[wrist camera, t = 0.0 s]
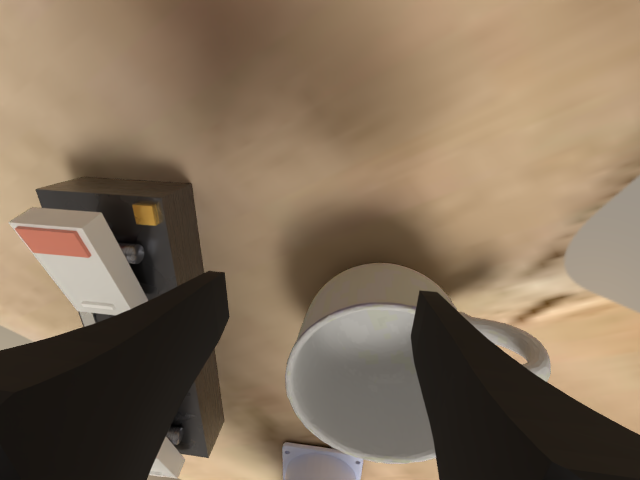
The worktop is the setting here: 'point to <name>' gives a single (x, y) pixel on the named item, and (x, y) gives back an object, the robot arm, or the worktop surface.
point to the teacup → (375, 364)
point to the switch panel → (153, 272)
